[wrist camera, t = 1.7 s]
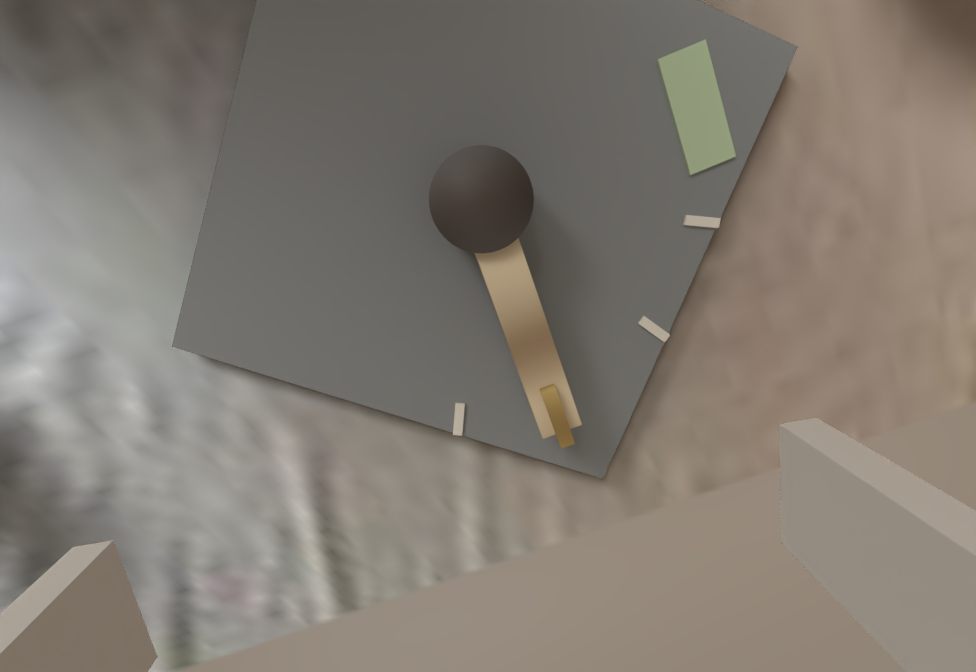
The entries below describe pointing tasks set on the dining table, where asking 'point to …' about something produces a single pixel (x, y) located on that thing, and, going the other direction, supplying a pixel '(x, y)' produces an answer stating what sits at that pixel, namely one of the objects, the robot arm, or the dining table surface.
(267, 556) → the dining table surface
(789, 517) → the robot arm
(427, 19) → the dial board
